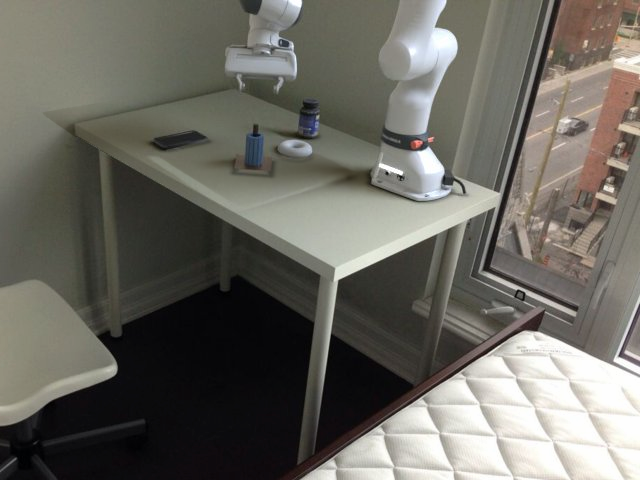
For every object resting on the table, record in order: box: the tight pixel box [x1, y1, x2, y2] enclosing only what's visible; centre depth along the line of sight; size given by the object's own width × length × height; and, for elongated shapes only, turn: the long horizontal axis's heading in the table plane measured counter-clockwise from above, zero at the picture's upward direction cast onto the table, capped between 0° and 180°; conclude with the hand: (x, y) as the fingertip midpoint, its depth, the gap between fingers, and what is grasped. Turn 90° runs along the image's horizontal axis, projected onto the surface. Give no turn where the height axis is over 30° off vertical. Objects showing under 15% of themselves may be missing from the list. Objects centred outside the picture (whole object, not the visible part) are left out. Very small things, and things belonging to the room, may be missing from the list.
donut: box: [277, 139, 313, 158], centre depth 209 cm, size 10×3×10 cm
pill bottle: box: [297, 97, 321, 140], centre depth 221 cm, size 6×6×11 cm
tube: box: [244, 131, 265, 166], centre depth 198 cm, size 5×5×8 cm
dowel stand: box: [234, 123, 273, 172], centre depth 197 cm, size 10×10×12 cm
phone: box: [152, 129, 208, 151], centre depth 213 cm, size 8×1×15 cm
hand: (258, 91), depth 201 cm, fingers open, 8 cm apart
